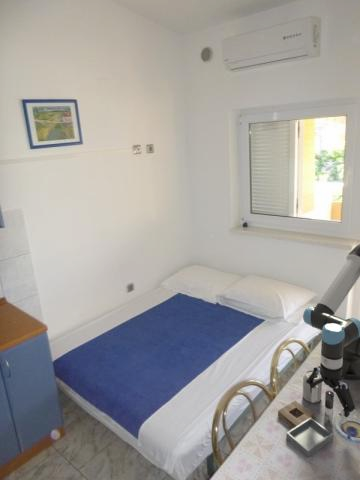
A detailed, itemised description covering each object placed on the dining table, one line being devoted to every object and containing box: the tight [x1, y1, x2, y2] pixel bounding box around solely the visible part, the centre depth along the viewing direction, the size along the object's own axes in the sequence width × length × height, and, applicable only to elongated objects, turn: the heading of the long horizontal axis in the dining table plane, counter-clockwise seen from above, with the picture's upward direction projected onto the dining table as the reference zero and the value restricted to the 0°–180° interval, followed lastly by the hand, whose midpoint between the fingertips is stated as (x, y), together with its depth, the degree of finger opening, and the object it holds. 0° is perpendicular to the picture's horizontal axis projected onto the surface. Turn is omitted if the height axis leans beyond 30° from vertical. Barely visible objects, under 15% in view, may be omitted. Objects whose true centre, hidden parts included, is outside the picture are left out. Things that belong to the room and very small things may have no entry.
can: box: [302, 369, 323, 404], centre depth 158 cm, size 8×8×12 cm
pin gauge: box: [323, 390, 335, 427], centre depth 144 cm, size 3×3×14 cm
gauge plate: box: [277, 400, 316, 429], centre depth 150 cm, size 10×10×2 cm
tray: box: [285, 417, 334, 458], centre depth 139 cm, size 13×10×3 cm
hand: (328, 411), depth 145 cm, fingers open, 13 cm apart
